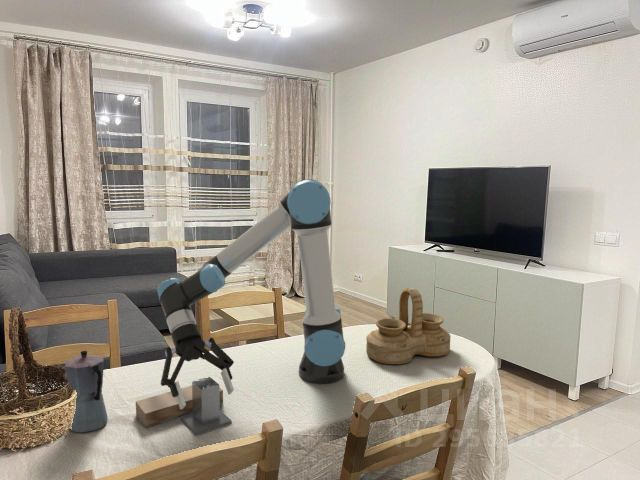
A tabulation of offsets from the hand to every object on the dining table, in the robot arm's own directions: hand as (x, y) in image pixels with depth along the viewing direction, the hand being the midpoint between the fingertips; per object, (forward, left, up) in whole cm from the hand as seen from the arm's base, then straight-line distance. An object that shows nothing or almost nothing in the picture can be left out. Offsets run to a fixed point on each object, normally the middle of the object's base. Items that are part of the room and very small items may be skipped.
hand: (208, 399), depth 123 cm
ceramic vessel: (-48, -65, -7) cm, 81 cm away
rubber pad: (+1, -1, -7) cm, 7 cm away
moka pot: (+29, +9, -7) cm, 31 cm away
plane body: (+11, -5, -7) cm, 14 cm away
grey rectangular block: (+1, -1, -6) cm, 6 cm away
